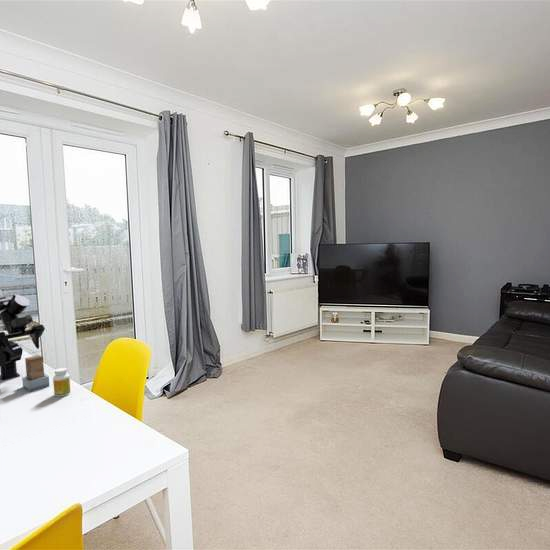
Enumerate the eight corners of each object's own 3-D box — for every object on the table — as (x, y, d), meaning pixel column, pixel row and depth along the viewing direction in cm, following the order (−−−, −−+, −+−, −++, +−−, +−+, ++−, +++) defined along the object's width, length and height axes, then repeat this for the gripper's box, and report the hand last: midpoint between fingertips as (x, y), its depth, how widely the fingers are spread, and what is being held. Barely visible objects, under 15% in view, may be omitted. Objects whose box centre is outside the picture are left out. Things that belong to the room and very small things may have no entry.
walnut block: (27, 384, 151) (25, 358, 150) (39, 381, 155) (37, 355, 154) (32, 387, 149) (30, 360, 148) (44, 383, 153) (42, 356, 151)
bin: (22, 386, 152) (22, 377, 151) (43, 381, 157) (42, 372, 157) (28, 391, 147) (28, 381, 147) (49, 385, 152) (48, 376, 152)
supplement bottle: (65, 397, 142) (63, 372, 140) (51, 397, 142) (49, 372, 141) (73, 391, 147) (71, 367, 146) (59, 391, 147) (57, 367, 146)
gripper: (-10, 313, 147) (5, 345, 143) (40, 305, 163) (56, 334, 158) (-17, 330, 153) (-2, 362, 148) (33, 321, 168) (48, 349, 163)
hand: (26, 351), depth 154 cm, fingers open, 9 cm apart
